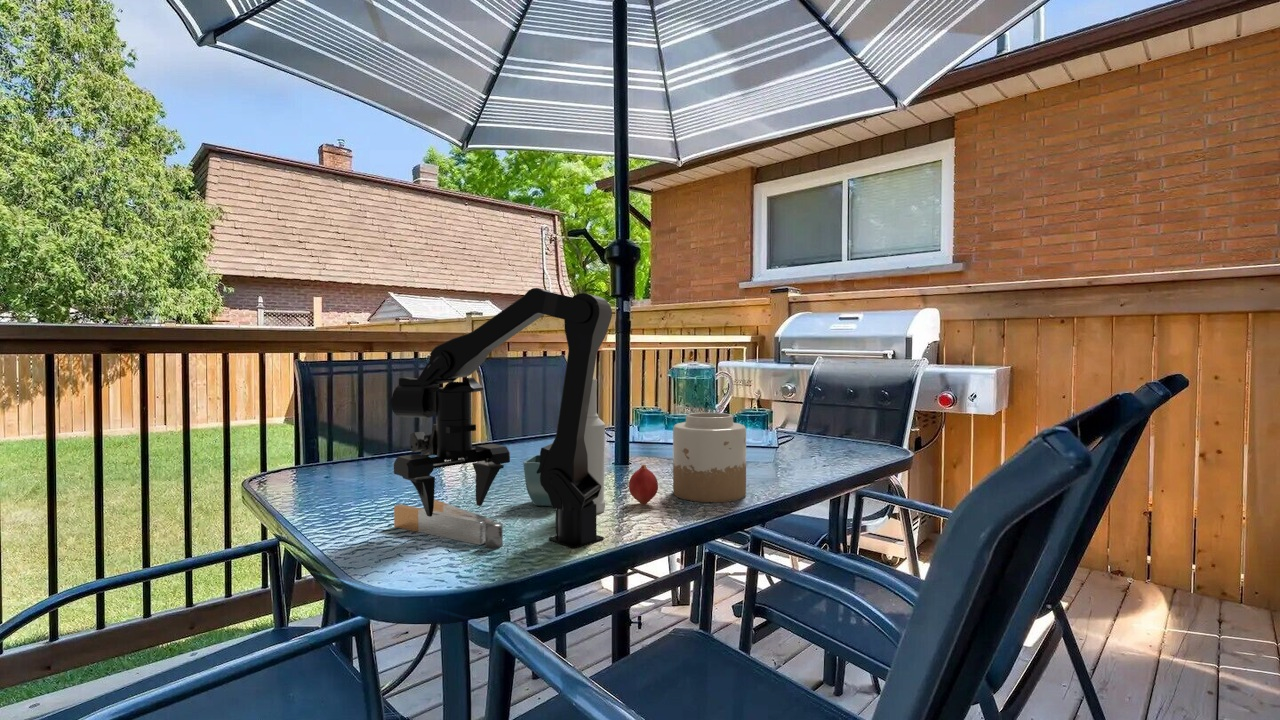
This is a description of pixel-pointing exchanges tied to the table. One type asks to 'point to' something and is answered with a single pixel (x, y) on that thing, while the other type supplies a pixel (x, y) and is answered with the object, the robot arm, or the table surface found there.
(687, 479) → the vase
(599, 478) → the bottle
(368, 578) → the table surface
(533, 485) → the flower pot
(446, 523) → the tong arm
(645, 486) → the onion
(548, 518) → the table surface
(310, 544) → the table surface
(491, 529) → the base
